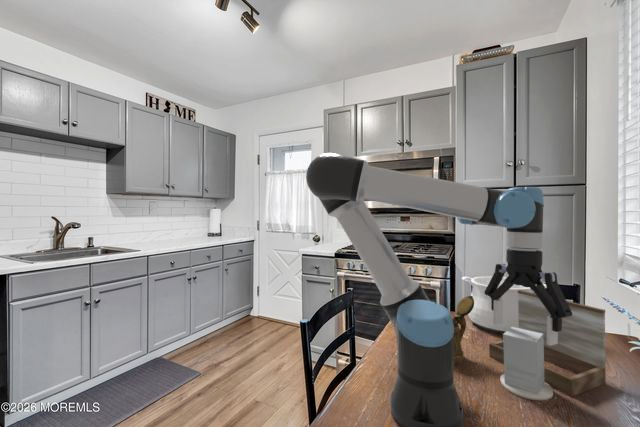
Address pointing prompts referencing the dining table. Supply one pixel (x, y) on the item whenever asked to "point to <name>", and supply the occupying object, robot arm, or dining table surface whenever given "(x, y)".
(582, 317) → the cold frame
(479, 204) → the robot arm
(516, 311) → the pot
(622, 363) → the dining table surface
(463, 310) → the wooden mug
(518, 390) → the saucer
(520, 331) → the supplement box
